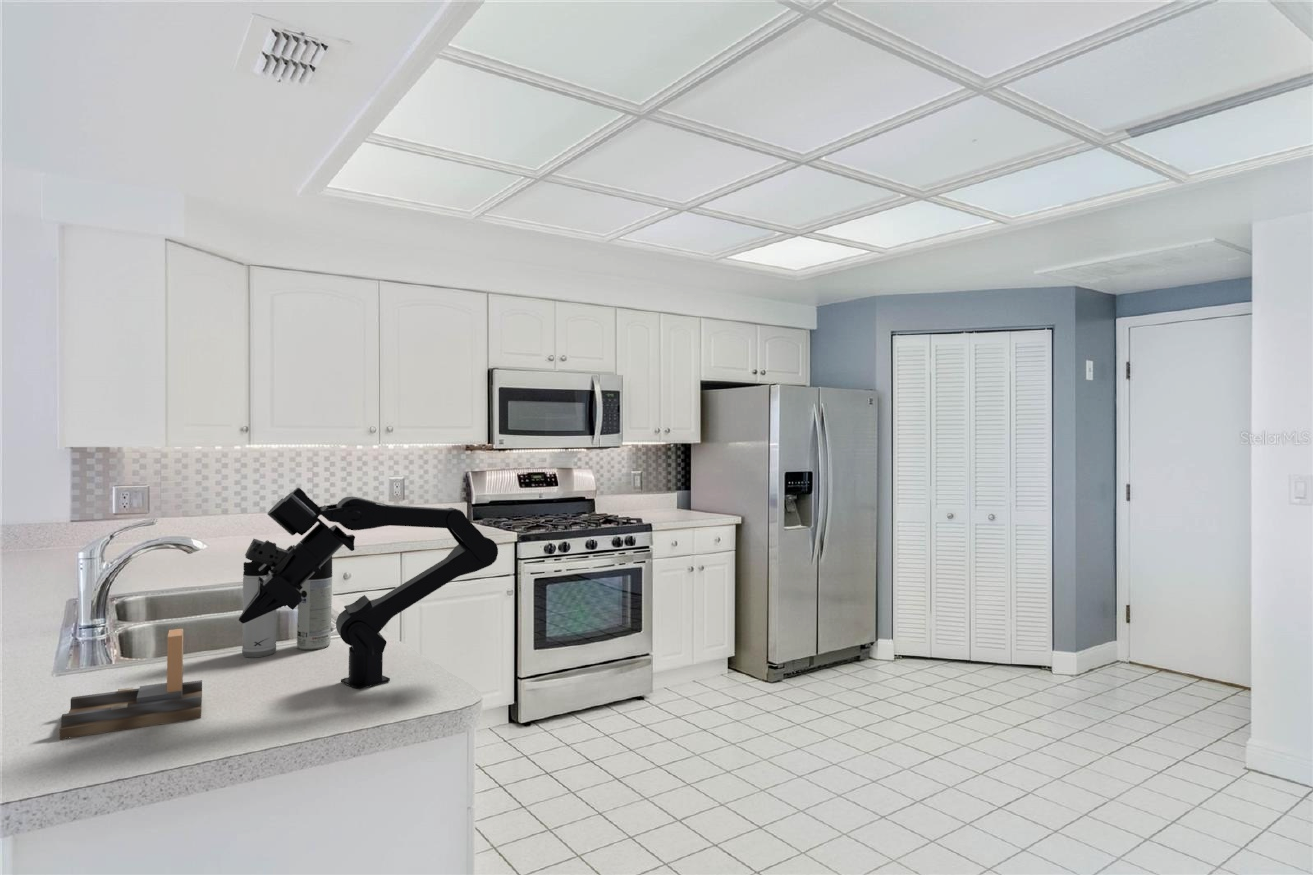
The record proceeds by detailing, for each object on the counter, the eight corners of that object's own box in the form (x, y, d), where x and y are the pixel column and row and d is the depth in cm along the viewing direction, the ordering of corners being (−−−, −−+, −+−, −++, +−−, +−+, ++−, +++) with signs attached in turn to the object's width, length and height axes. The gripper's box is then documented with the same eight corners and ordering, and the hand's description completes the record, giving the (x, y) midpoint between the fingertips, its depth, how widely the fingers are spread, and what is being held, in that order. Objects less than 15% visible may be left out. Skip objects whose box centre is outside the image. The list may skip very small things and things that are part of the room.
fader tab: (182, 692, 128) (183, 627, 128) (181, 704, 122) (181, 636, 122) (139, 698, 125) (140, 631, 125) (136, 710, 119) (137, 641, 119)
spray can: (303, 642, 165) (305, 551, 165) (335, 641, 166) (336, 551, 166) (291, 650, 159) (293, 556, 159) (325, 650, 159) (326, 556, 159)
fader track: (202, 695, 131) (202, 676, 131) (200, 717, 121) (201, 697, 121) (72, 713, 122) (73, 693, 122) (59, 739, 112) (59, 717, 112)
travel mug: (263, 659, 153) (264, 560, 153) (234, 656, 154) (236, 559, 154) (284, 650, 159) (285, 555, 159) (256, 648, 160) (258, 554, 160)
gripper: (272, 517, 140) (203, 581, 134) (280, 528, 124) (201, 602, 118) (318, 556, 144) (252, 620, 138) (331, 572, 128) (257, 646, 122)
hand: (240, 621), depth 129 cm, fingers closed
